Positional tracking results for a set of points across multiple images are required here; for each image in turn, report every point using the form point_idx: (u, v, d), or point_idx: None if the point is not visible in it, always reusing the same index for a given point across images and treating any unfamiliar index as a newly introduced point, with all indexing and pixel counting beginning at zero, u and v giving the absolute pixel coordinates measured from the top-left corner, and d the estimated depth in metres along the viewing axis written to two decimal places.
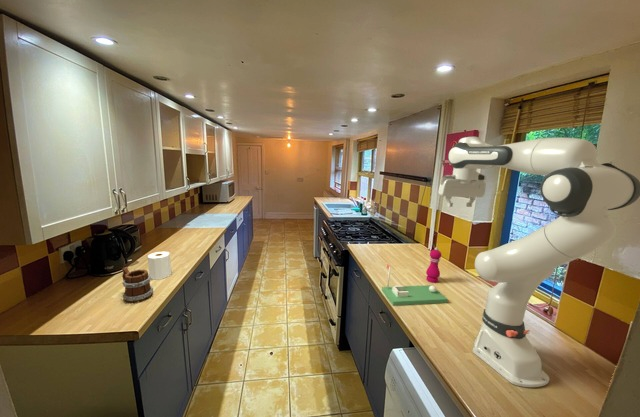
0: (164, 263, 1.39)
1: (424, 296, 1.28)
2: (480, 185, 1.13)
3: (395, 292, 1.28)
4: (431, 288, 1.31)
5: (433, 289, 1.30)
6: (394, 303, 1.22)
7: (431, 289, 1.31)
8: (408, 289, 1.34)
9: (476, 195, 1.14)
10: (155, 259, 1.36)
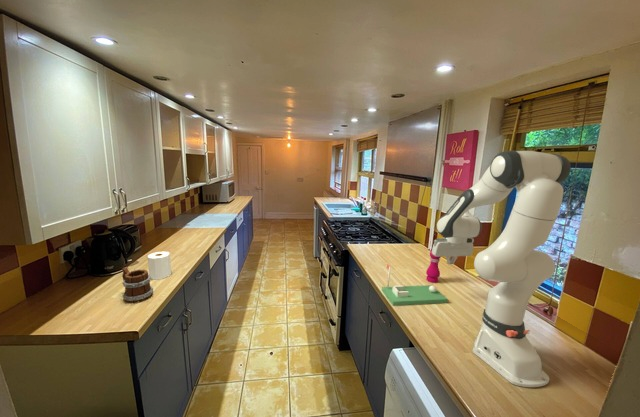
0: (164, 262, 1.39)
1: (424, 296, 1.28)
2: (468, 246, 1.28)
3: (395, 292, 1.28)
4: (431, 288, 1.31)
5: (433, 289, 1.30)
6: (394, 303, 1.22)
7: (431, 289, 1.31)
8: (408, 289, 1.34)
9: (465, 255, 1.29)
10: (155, 259, 1.36)
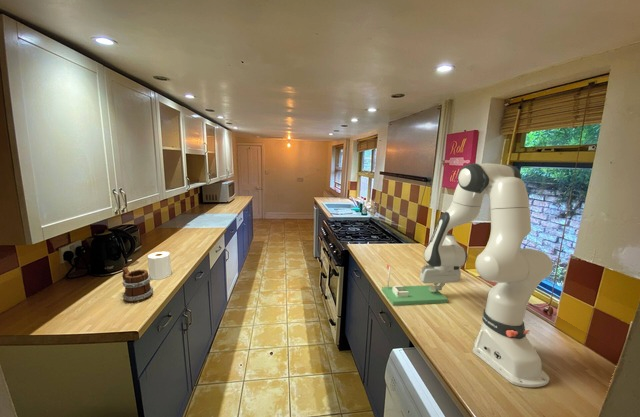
0: (164, 263, 1.39)
1: (424, 296, 1.28)
2: (456, 273, 1.30)
3: (395, 292, 1.28)
4: (431, 288, 1.31)
5: (433, 289, 1.30)
6: (394, 303, 1.22)
7: (431, 289, 1.31)
8: (408, 289, 1.34)
9: (453, 281, 1.31)
10: (155, 259, 1.36)
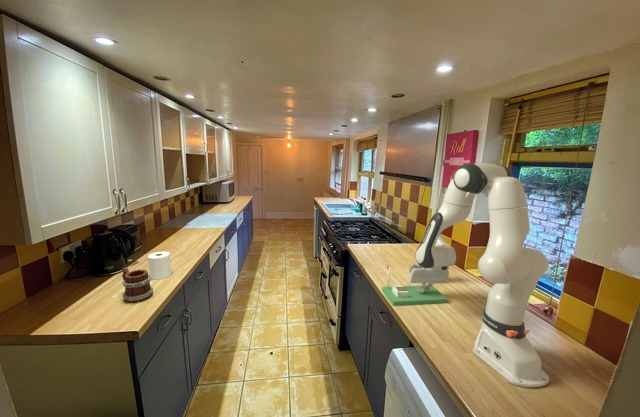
0: (164, 263, 1.39)
1: (424, 296, 1.28)
2: (444, 273, 1.29)
3: (395, 292, 1.28)
4: None
5: (423, 291, 1.30)
6: (394, 303, 1.22)
7: None
8: (408, 289, 1.34)
9: (441, 281, 1.30)
10: (155, 259, 1.36)
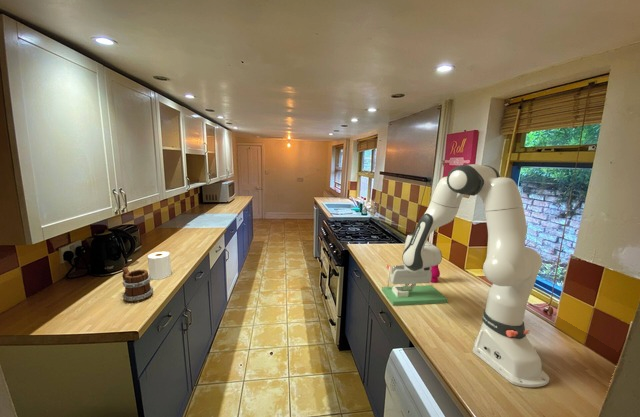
0: (164, 263, 1.39)
1: (424, 296, 1.28)
2: (427, 273, 1.28)
3: (395, 292, 1.28)
4: None
5: None
6: (394, 303, 1.22)
7: None
8: None
9: (424, 282, 1.28)
10: (155, 259, 1.36)
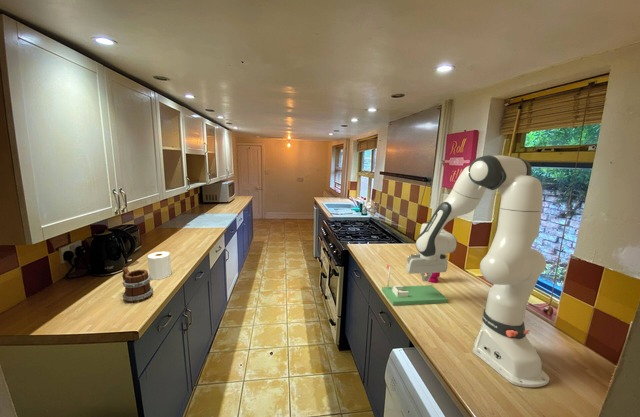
0: (164, 263, 1.39)
1: (424, 296, 1.28)
2: (443, 262, 1.27)
3: (395, 292, 1.28)
4: None
5: None
6: (394, 303, 1.22)
7: None
8: (408, 289, 1.34)
9: (440, 271, 1.28)
10: (155, 259, 1.36)
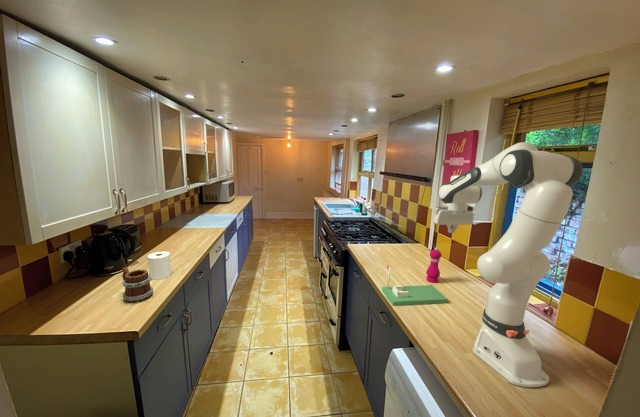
0: (164, 263, 1.39)
1: (424, 296, 1.28)
2: (469, 215, 1.32)
3: (395, 292, 1.28)
4: None
5: None
6: (394, 303, 1.22)
7: None
8: (408, 289, 1.34)
9: (466, 223, 1.33)
10: (155, 259, 1.36)
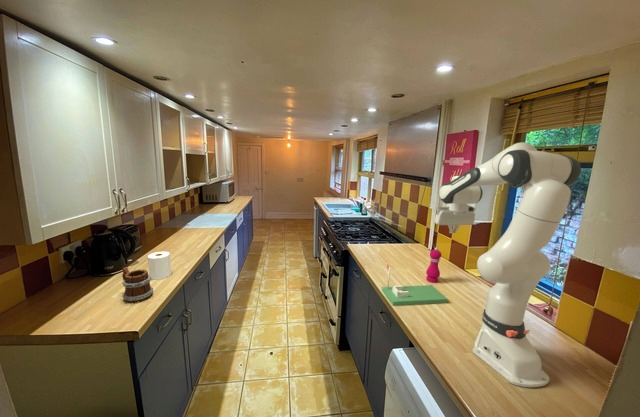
0: (164, 263, 1.39)
1: (424, 296, 1.28)
2: (470, 215, 1.33)
3: (395, 292, 1.28)
4: None
5: None
6: (394, 303, 1.22)
7: None
8: (408, 289, 1.34)
9: (467, 224, 1.33)
10: (155, 259, 1.36)
